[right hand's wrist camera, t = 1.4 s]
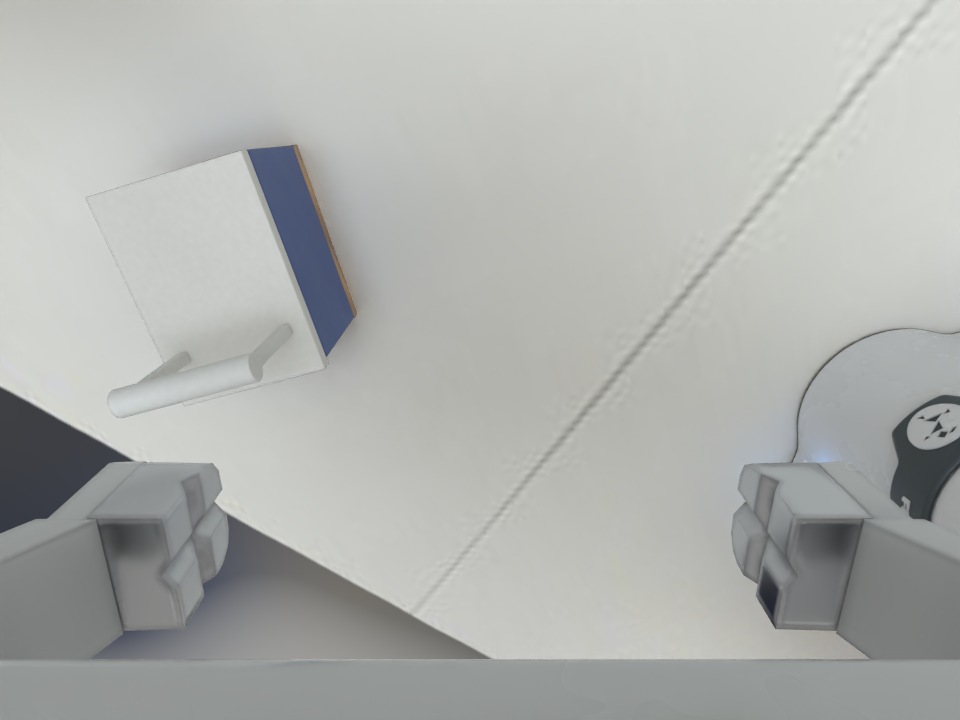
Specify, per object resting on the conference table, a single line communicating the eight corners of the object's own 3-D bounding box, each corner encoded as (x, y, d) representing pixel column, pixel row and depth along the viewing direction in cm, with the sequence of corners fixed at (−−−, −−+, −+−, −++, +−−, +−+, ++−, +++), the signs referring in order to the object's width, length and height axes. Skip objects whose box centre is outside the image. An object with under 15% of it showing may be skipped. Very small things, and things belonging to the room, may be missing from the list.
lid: (329, 363, 40) (290, 422, 32) (190, 400, 41) (119, 466, 33) (247, 149, 36) (179, 155, 28) (94, 195, 37) (-14, 214, 29)
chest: (356, 313, 50) (327, 357, 40) (243, 344, 51) (188, 394, 41) (296, 144, 46) (247, 149, 36) (173, 182, 46) (95, 195, 37)
